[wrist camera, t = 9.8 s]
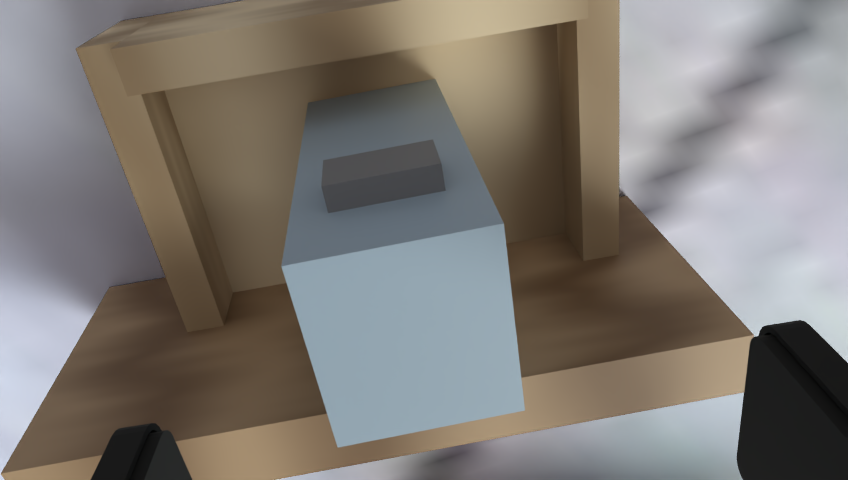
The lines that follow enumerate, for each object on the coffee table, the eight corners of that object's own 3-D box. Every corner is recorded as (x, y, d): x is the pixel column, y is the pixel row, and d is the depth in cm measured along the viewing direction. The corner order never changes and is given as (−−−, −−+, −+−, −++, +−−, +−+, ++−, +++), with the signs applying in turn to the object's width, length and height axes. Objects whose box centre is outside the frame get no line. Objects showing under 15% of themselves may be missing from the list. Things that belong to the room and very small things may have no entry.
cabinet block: (432, 59, 20) (500, 193, 11) (454, 207, 23) (524, 410, 14) (303, 83, 20) (272, 237, 11) (340, 229, 23) (337, 447, 14)
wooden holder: (628, -64, 21) (800, -34, 13) (626, 240, 26) (746, 391, 18) (-1, 41, 20) (-217, 138, 13) (128, 330, 26) (33, 524, 18)
